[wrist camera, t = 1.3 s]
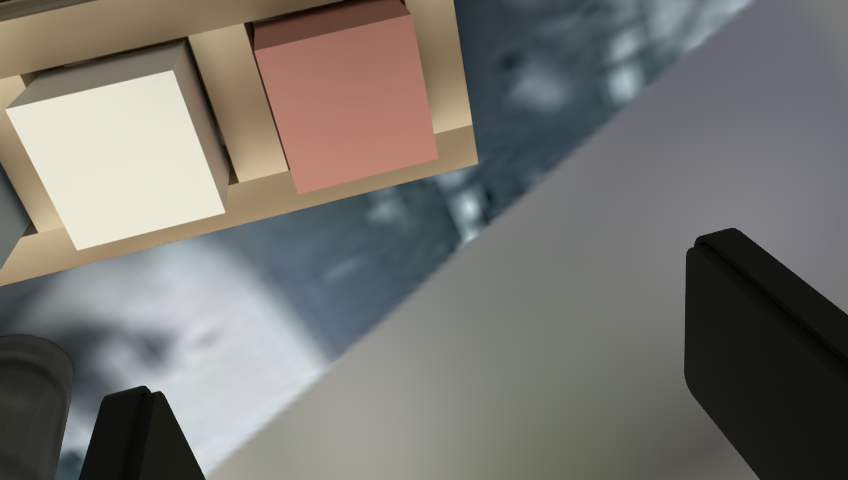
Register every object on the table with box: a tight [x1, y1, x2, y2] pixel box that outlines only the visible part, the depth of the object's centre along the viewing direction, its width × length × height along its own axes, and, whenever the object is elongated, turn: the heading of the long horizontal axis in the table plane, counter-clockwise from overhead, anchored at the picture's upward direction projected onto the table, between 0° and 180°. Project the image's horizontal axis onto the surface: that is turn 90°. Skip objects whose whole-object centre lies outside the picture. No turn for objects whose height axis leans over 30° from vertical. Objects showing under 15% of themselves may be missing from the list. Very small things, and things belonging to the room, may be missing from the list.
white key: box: [5, 40, 230, 250], centre depth 24 cm, size 5×5×4 cm
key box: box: [0, 0, 478, 286], centre depth 27 cm, size 9×24×6 cm, turn 100°
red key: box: [254, 0, 439, 194], centre depth 25 cm, size 5×5×4 cm
